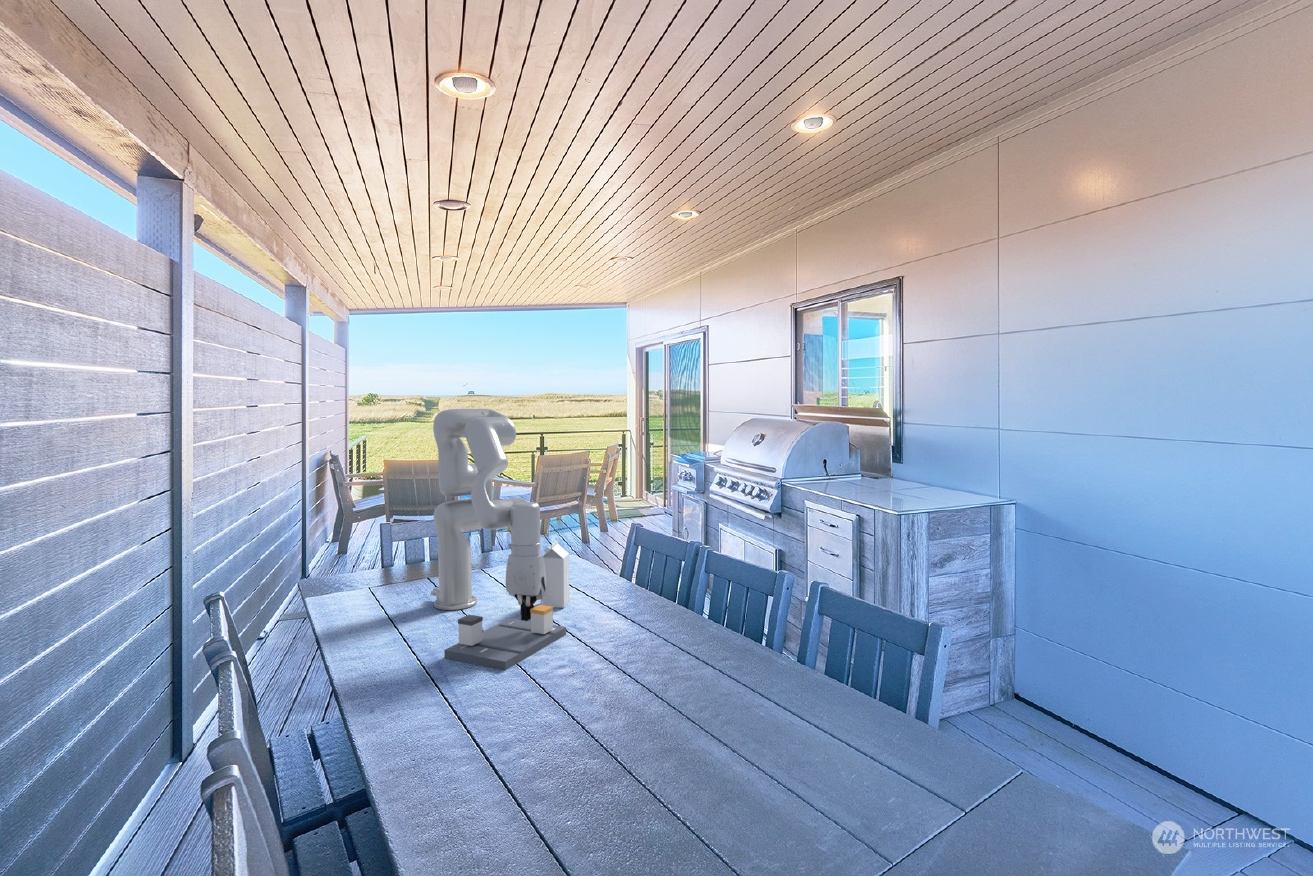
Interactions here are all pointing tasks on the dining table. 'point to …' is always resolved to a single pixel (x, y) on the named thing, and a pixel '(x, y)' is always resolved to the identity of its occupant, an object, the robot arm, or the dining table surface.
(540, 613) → the fader orange
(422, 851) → the dining table surface
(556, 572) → the milk carton
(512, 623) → the console
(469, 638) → the block
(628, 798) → the dining table surface
